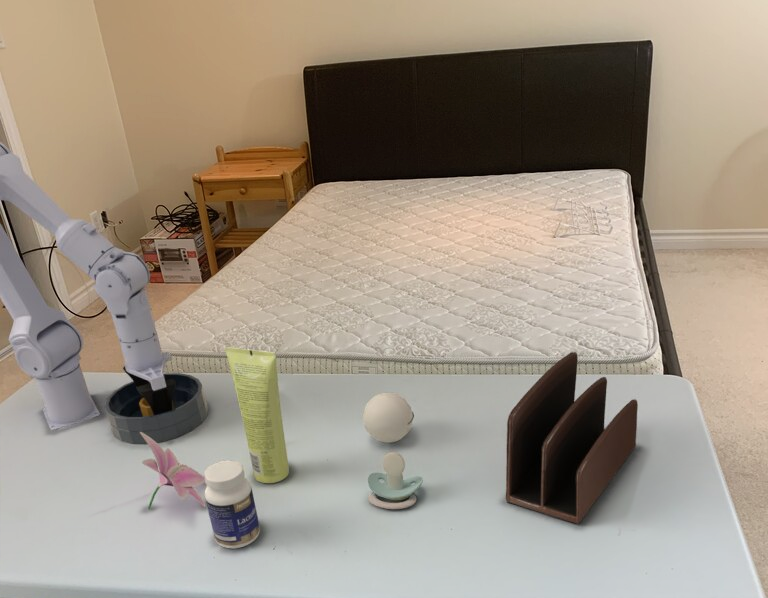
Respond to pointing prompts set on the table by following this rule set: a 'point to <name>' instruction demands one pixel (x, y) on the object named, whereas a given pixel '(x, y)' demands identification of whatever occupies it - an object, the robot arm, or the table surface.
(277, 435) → the tube
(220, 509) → the pill bottle
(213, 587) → the table surface
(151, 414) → the ring
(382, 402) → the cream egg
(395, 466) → the pacifier
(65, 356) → the robot arm
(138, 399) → the bowl
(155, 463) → the lily
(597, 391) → the letter holder
